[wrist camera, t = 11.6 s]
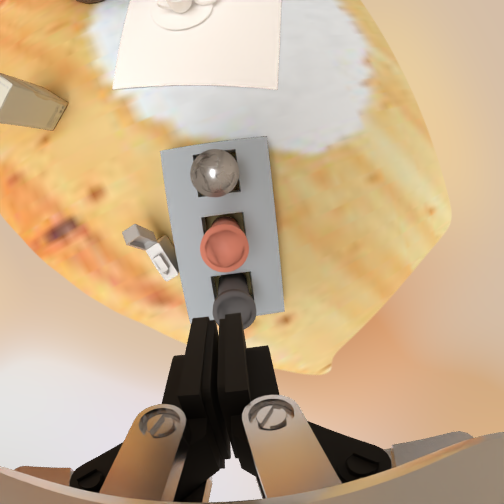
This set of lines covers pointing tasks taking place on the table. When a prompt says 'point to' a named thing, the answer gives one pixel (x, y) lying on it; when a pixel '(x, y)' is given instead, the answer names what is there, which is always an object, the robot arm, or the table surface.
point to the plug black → (234, 299)
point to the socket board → (200, 206)
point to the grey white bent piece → (154, 249)
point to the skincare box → (28, 104)
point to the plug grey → (214, 173)
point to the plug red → (224, 245)
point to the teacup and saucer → (183, 4)
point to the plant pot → (89, 1)
